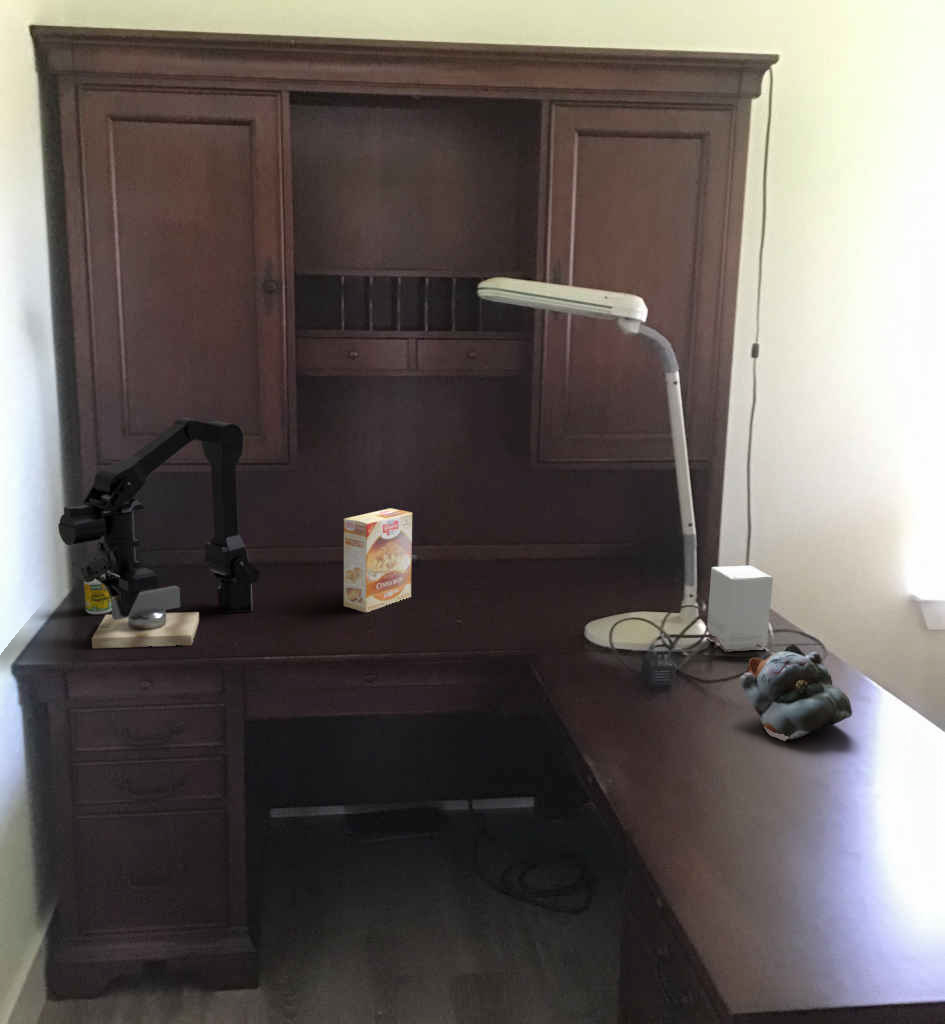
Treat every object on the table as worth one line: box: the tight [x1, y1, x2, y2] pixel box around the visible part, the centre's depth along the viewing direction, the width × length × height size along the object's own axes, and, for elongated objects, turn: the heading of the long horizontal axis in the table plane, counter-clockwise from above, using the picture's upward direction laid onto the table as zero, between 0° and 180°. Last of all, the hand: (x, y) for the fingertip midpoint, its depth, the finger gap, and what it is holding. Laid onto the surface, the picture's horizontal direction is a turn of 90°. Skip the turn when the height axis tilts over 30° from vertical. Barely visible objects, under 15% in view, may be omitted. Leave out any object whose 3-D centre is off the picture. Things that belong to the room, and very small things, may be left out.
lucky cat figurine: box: [739, 644, 853, 740], centre depth 161 cm, size 15×12×14 cm
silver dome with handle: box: [111, 585, 181, 630], centre depth 196 cm, size 13×7×7 cm, turn 132°
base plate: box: [91, 611, 200, 649], centre depth 197 cm, size 18×14×2 cm
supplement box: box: [706, 565, 774, 649], centre depth 198 cm, size 9×9×15 cm
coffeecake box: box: [343, 507, 413, 613], centre depth 219 cm, size 15×7×20 cm, turn 143°
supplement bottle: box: [83, 579, 112, 615], centre depth 210 cm, size 5×5×10 cm
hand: (122, 614), depth 193 cm, fingers open, 2 cm apart
